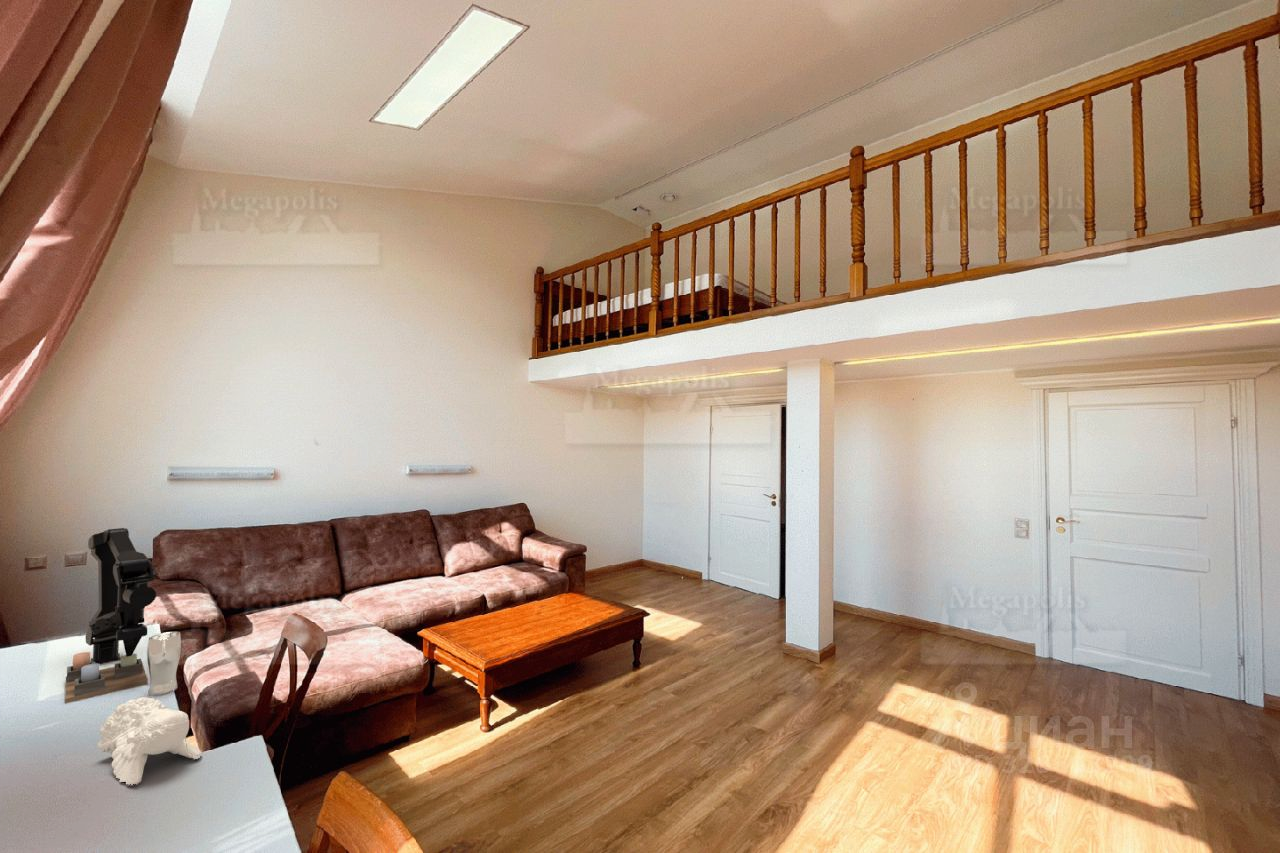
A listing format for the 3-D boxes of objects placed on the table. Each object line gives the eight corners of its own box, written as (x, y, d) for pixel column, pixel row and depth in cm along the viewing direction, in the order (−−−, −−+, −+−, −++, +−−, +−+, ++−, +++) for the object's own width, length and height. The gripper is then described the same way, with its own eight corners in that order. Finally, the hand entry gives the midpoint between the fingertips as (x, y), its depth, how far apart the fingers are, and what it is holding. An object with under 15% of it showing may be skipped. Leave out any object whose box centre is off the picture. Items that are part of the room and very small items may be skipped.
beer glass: (163, 697, 145) (165, 640, 146) (138, 696, 145) (140, 639, 146) (186, 685, 152) (188, 631, 153) (161, 685, 152) (163, 631, 153)
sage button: (119, 671, 157) (120, 655, 157) (135, 668, 159) (136, 652, 160) (120, 675, 155) (121, 659, 155) (136, 671, 157) (137, 655, 157)
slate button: (80, 682, 147) (81, 665, 147) (98, 678, 149) (99, 662, 149) (80, 686, 144) (81, 669, 145) (98, 682, 147) (99, 665, 147)
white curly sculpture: (174, 687, 128) (211, 699, 118) (173, 743, 127) (210, 760, 116) (98, 708, 117) (132, 723, 107) (96, 769, 116) (129, 791, 105)
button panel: (65, 681, 154) (66, 666, 155) (141, 664, 166) (142, 651, 166) (64, 703, 141) (65, 687, 142) (147, 684, 153) (148, 669, 153)
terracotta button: (72, 670, 155) (73, 654, 155) (89, 666, 157) (90, 651, 157) (72, 673, 152) (73, 657, 152) (89, 670, 155) (90, 654, 155)
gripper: (90, 600, 158) (88, 654, 158) (92, 614, 145) (90, 673, 145) (142, 593, 166) (140, 644, 166) (148, 606, 154) (146, 662, 153)
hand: (129, 655), depth 157 cm, fingers closed, pressing on sage button
